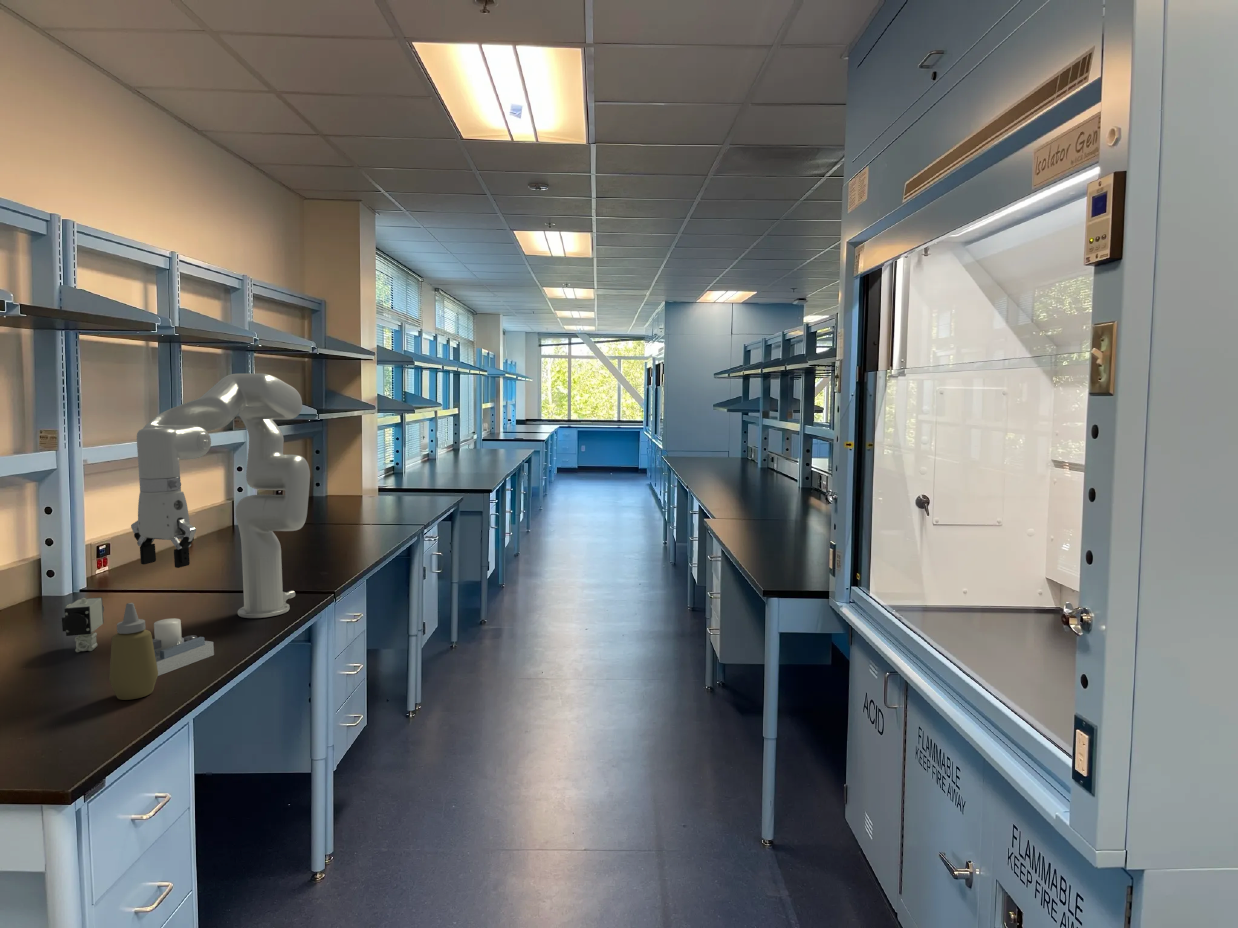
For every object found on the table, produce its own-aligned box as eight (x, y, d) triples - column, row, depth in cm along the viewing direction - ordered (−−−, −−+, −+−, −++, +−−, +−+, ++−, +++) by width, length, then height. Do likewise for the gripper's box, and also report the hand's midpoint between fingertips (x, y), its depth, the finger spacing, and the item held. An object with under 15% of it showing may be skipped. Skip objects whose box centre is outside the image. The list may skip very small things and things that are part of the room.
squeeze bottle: (167, 686, 153) (163, 597, 152) (144, 702, 145) (139, 609, 144) (126, 687, 153) (121, 598, 152) (100, 703, 145) (94, 609, 143)
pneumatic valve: (106, 640, 183) (103, 591, 182) (89, 656, 172) (86, 603, 170) (79, 643, 181) (76, 592, 180) (60, 659, 170) (57, 605, 169)
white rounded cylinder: (170, 644, 170) (169, 617, 170) (187, 646, 169) (186, 619, 168) (143, 653, 164) (141, 625, 164) (160, 656, 163) (158, 628, 162)
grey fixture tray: (180, 650, 176) (179, 630, 175) (213, 654, 172) (212, 634, 172) (122, 670, 163) (121, 649, 162) (157, 676, 159) (156, 654, 159)
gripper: (206, 485, 165) (210, 564, 167) (146, 482, 171) (151, 558, 172) (175, 489, 158) (180, 571, 160) (114, 486, 164) (119, 565, 165)
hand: (165, 564), depth 166 cm, fingers open, 9 cm apart
